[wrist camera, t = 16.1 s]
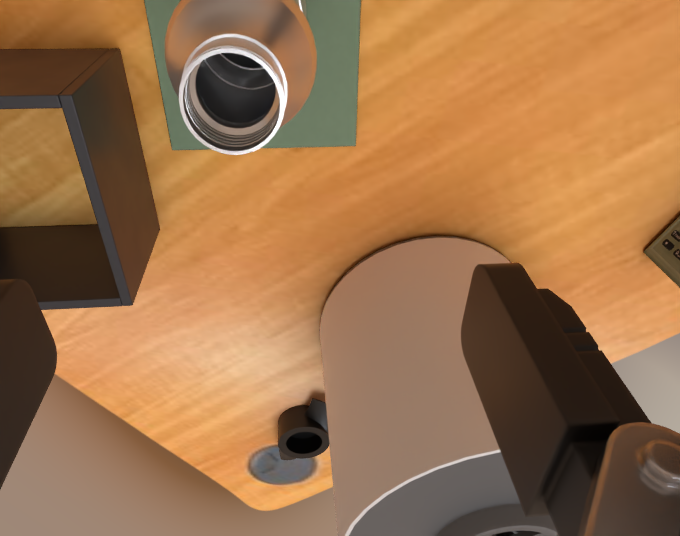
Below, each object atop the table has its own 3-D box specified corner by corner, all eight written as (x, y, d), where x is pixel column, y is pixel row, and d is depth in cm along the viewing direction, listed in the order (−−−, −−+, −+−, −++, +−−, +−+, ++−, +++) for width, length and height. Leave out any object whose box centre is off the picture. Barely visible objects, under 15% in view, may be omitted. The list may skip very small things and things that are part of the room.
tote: (-91, 49, 34) (-207, 98, 26) (120, 48, 35) (71, 95, 27) (-7, 235, 42) (-75, 315, 34) (160, 229, 43) (132, 305, 35)
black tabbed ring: (356, 420, 61) (359, 441, 58) (288, 453, 63) (288, 474, 61) (319, 386, 57) (321, 407, 54) (248, 423, 59) (247, 444, 57)
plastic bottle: (197, 42, 35) (125, 171, 19) (214, -73, 31) (142, -37, 15) (290, 69, 36) (298, 210, 20) (317, -37, 33) (352, 31, 17)
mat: (107, -205, 28) (105, -207, 27) (366, -197, 29) (367, -198, 28) (173, 147, 39) (172, 150, 39) (354, 143, 41) (355, 146, 40)
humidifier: (275, 293, 49) (271, 546, 30) (482, 187, 44) (633, 408, 25) (376, 413, 60) (419, 648, 42) (547, 340, 56) (683, 567, 37)
